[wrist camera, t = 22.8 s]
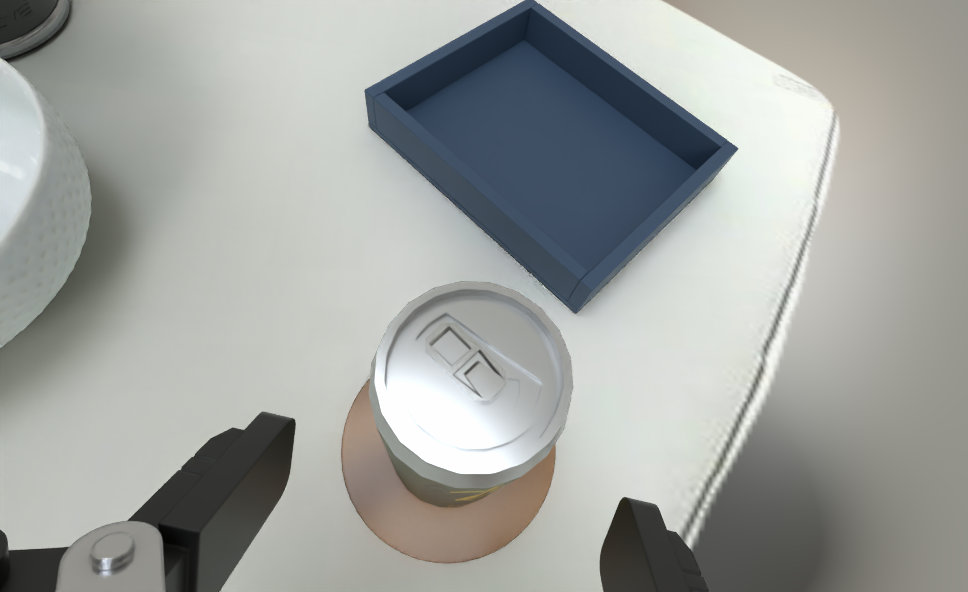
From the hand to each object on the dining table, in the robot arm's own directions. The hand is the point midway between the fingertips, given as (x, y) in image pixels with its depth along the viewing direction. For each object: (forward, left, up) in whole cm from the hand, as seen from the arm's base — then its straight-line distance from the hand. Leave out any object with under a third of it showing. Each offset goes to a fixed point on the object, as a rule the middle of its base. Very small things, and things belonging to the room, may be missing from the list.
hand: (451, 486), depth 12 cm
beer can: (-1, +2, -11) cm, 11 cm away
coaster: (-2, +2, -11) cm, 12 cm away
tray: (-11, +19, -11) cm, 25 cm away
